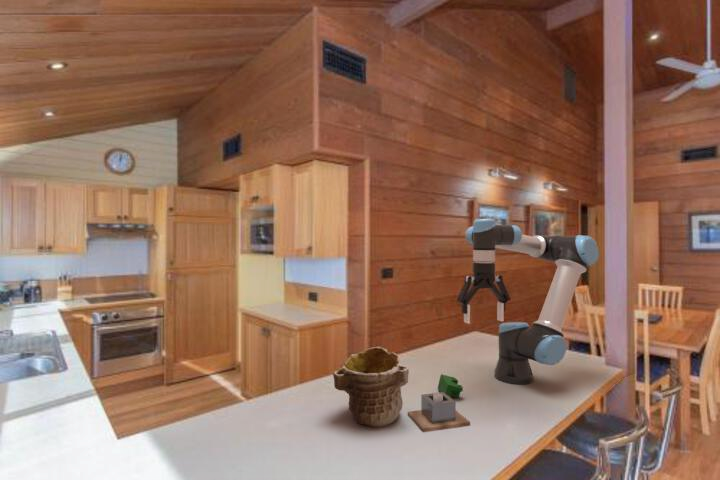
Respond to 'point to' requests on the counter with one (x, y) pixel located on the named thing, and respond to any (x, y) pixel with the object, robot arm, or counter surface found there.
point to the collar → (438, 408)
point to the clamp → (449, 386)
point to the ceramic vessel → (373, 385)
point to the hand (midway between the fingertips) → (483, 321)
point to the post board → (428, 426)
